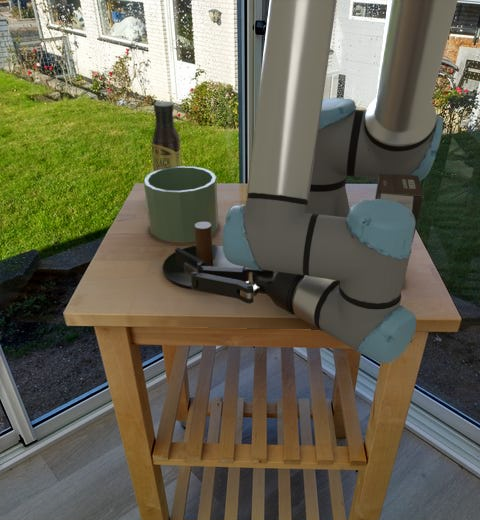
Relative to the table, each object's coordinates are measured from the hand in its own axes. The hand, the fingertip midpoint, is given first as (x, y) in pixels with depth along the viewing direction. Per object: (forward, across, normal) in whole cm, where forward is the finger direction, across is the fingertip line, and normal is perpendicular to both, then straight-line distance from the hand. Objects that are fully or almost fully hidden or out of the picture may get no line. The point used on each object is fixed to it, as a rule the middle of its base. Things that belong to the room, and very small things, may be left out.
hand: (209, 242), depth 83 cm
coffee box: (-20, +22, -6) cm, 31 cm away
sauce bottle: (+34, +17, -6) cm, 39 cm away
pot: (+17, +8, -6) cm, 20 cm away
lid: (+2, 0, -6) cm, 6 cm away
